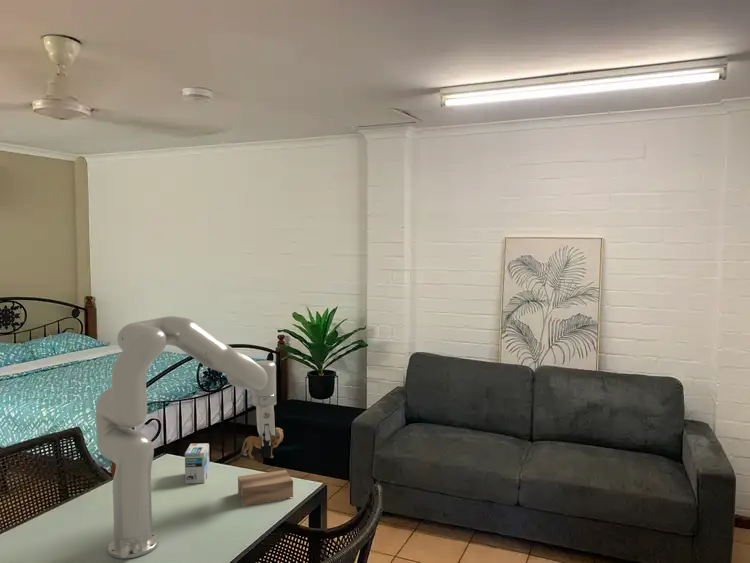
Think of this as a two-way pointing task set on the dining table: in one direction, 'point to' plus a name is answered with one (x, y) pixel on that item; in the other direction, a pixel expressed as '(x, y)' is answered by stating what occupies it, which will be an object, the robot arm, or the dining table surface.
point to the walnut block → (265, 487)
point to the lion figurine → (258, 442)
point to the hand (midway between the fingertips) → (265, 454)
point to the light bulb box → (197, 463)
